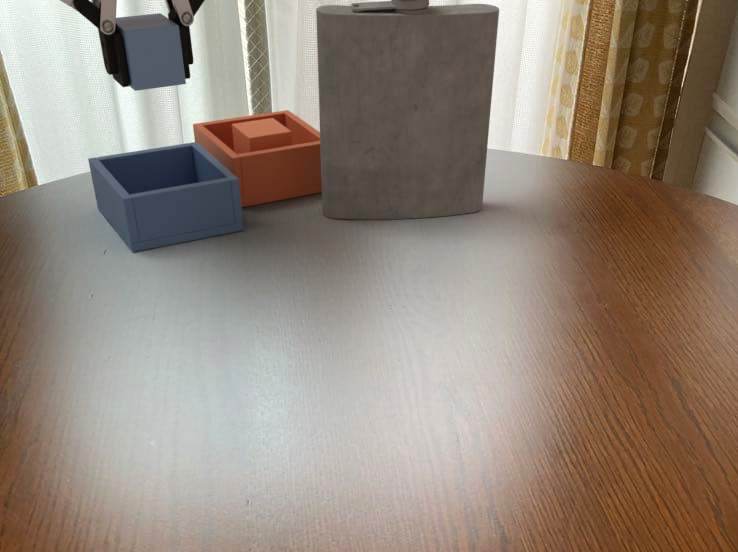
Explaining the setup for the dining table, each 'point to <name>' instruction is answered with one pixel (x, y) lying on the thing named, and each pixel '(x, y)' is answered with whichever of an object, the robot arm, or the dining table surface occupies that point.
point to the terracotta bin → (267, 159)
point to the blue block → (152, 51)
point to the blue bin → (166, 195)
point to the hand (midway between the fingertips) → (151, 76)
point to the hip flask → (404, 107)
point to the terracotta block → (260, 135)
